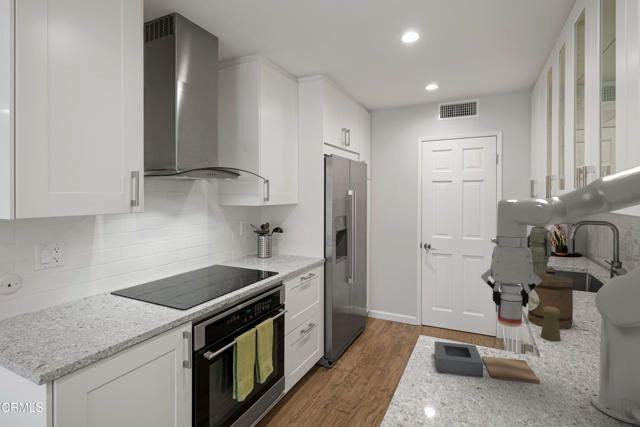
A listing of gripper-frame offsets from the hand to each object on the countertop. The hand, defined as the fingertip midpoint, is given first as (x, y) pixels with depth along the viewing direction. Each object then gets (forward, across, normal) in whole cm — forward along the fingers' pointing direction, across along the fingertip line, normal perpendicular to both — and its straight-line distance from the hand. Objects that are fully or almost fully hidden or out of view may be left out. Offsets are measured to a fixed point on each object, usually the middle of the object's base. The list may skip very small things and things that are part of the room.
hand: (510, 304), depth 99 cm
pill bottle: (+6, 0, 0) cm, 6 cm away
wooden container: (+20, +27, +46) cm, 57 cm away
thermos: (+20, +37, +89) cm, 98 cm away
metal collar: (+19, -14, 0) cm, 24 cm away
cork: (+20, +21, +29) cm, 41 cm away
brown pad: (+19, 0, 0) cm, 19 cm away
